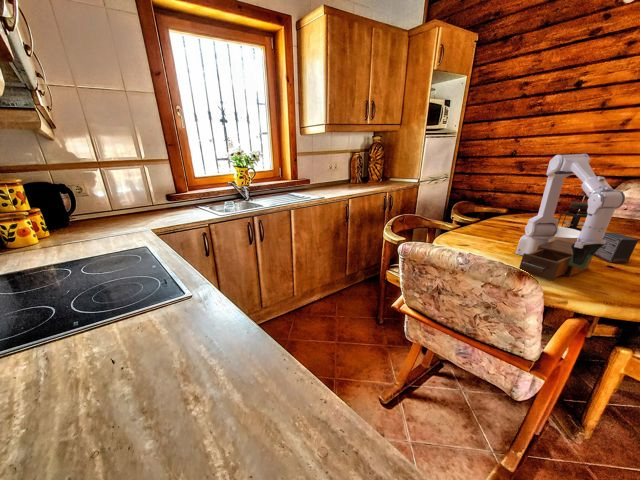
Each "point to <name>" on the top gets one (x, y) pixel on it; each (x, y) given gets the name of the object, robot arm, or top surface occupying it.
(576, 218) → the french press
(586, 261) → the block
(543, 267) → the drawer
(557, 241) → the cabinet
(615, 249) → the small box
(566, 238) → the serving bowl
